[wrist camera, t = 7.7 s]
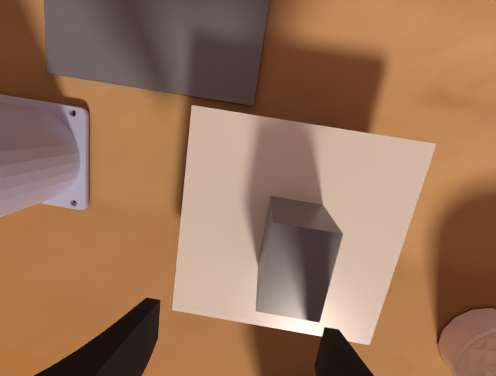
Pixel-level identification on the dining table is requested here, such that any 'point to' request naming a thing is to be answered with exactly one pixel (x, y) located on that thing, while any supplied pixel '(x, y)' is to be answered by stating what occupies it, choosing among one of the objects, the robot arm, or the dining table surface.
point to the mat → (160, 44)
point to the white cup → (470, 343)
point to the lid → (293, 222)
